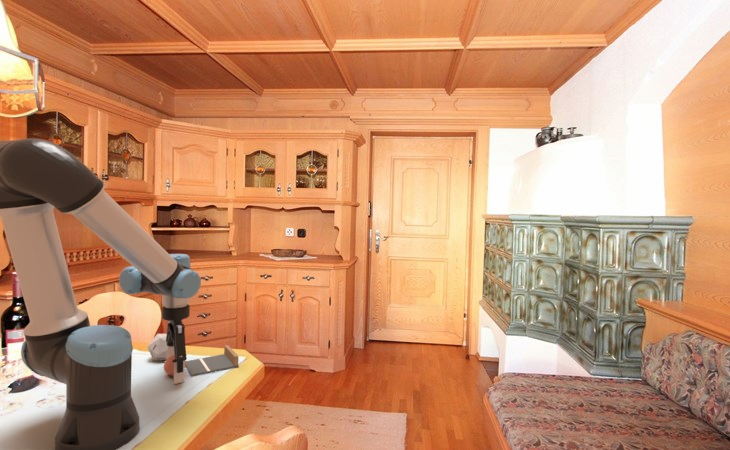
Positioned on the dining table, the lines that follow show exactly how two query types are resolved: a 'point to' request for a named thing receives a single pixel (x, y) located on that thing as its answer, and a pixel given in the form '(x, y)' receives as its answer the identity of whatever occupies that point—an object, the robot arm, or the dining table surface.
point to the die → (158, 347)
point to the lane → (213, 363)
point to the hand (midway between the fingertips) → (175, 374)
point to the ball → (170, 365)
